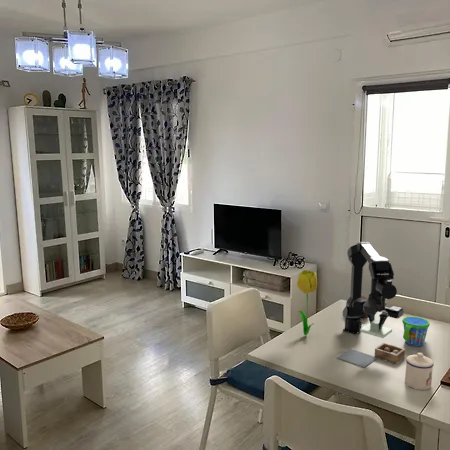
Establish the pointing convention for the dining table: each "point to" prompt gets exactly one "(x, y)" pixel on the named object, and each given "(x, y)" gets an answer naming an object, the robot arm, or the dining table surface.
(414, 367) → the teacup with lid
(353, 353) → the mat
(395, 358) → the crate
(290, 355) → the dining table surface
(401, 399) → the dining table surface
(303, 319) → the flower
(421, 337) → the snack cup
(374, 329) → the lid
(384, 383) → the dining table surface
